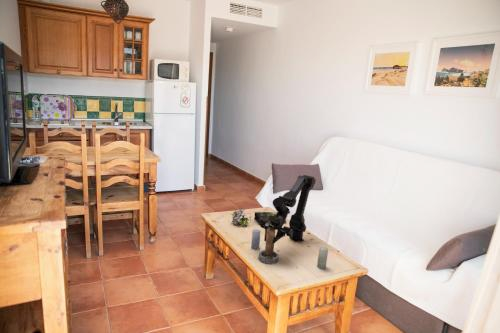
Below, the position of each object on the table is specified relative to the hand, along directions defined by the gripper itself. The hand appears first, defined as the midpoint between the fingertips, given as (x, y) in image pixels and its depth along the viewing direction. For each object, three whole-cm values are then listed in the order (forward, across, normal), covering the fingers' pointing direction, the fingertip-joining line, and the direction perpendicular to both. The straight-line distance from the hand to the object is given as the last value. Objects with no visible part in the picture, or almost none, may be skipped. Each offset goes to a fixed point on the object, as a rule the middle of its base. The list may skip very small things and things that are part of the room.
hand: (268, 242), depth 178 cm
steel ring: (+6, 0, +8) cm, 10 cm away
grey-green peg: (-2, +25, +16) cm, 29 cm away
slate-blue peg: (+2, -12, +12) cm, 18 cm away
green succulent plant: (-14, -39, +29) cm, 51 cm away
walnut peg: (+4, 0, +6) cm, 7 cm away
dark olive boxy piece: (-26, -26, +41) cm, 56 cm away
